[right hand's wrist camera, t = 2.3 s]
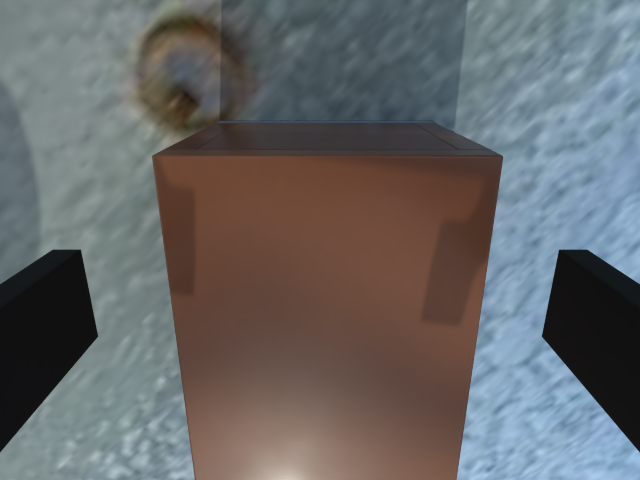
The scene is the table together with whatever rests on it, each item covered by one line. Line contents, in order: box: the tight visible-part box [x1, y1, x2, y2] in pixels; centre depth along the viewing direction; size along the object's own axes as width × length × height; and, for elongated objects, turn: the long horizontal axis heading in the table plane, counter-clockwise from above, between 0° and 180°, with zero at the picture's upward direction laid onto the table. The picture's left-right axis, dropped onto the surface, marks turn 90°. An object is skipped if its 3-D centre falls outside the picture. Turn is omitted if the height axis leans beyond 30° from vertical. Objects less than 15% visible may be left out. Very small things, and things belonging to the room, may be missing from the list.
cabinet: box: [152, 121, 503, 480], centre depth 21 cm, size 17×11×10 cm, turn 0°
